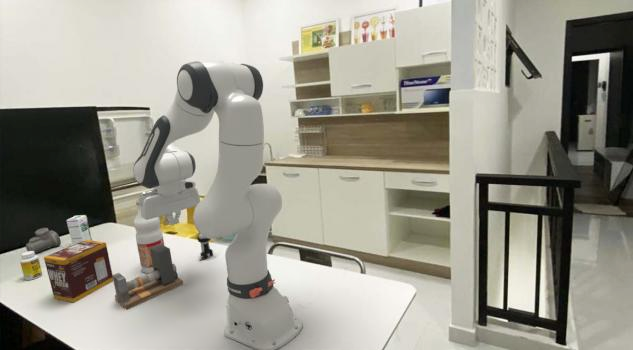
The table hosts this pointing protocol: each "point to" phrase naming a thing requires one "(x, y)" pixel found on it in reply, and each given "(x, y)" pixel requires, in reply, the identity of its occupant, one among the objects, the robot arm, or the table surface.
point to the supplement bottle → (30, 265)
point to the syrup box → (79, 229)
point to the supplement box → (79, 270)
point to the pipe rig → (142, 288)
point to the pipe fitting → (43, 240)
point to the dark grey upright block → (162, 263)
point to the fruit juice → (147, 238)
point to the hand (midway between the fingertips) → (174, 223)
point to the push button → (204, 247)
